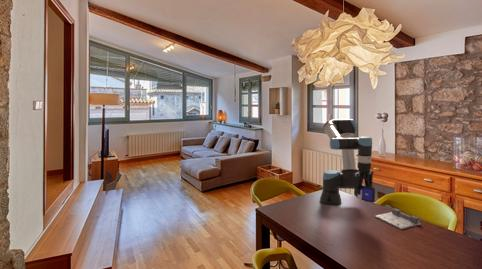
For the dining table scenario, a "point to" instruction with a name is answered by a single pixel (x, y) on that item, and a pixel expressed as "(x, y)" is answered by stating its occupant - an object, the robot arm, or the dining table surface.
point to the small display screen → (366, 193)
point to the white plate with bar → (399, 219)
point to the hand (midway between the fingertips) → (362, 198)
